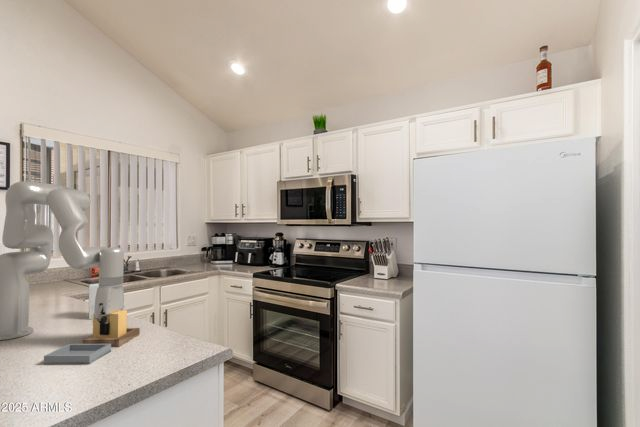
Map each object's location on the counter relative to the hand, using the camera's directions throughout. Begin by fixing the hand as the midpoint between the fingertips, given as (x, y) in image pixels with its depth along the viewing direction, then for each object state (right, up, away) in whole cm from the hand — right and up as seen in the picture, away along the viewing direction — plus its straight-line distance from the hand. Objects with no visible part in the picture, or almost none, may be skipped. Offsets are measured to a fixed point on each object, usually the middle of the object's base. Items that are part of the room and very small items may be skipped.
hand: (109, 331), depth 116 cm
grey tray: (0, -3, -15) cm, 15 cm away
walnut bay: (0, -3, 0) cm, 3 cm away
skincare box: (-27, -5, +31) cm, 41 cm away
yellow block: (0, -3, 0) cm, 3 cm away
